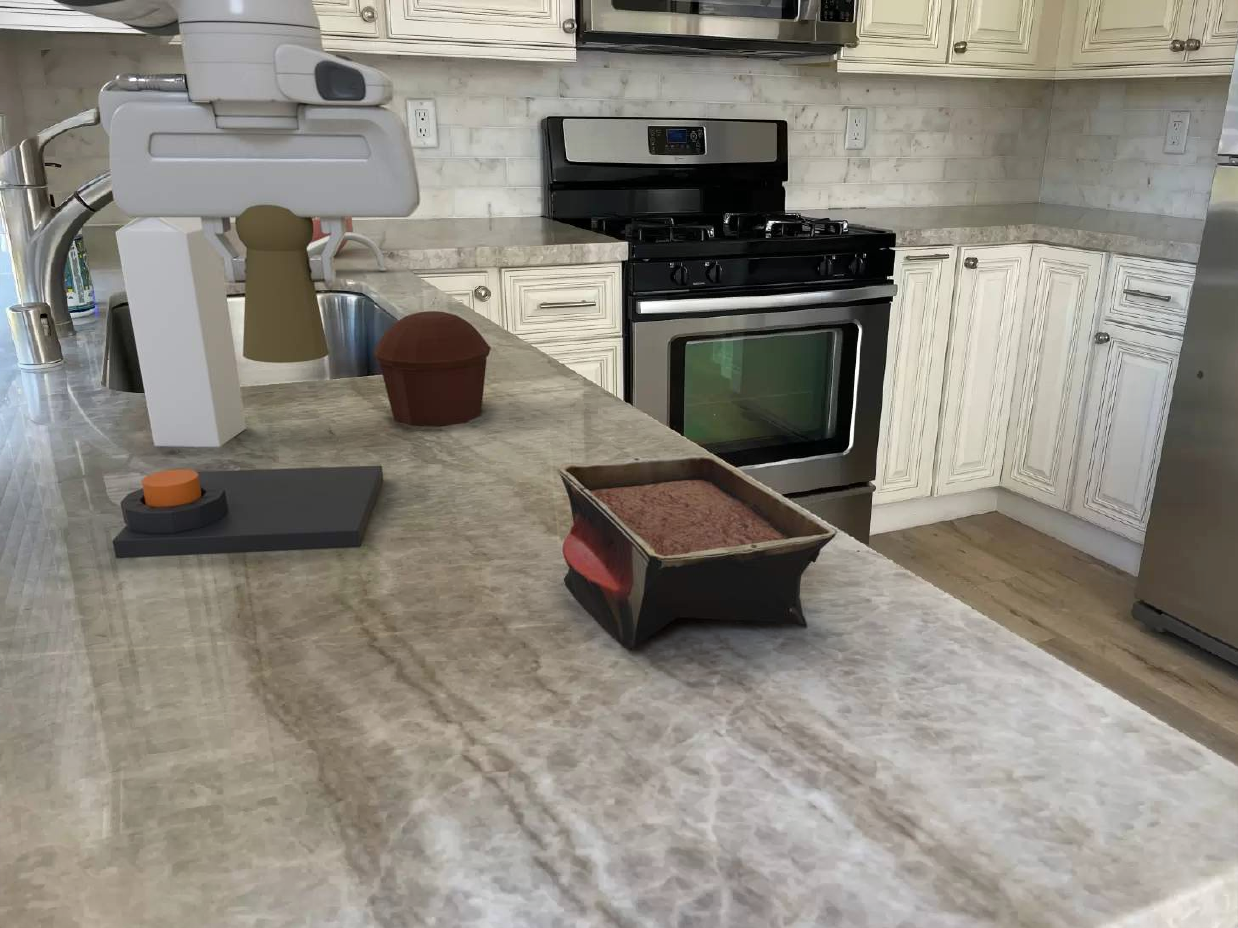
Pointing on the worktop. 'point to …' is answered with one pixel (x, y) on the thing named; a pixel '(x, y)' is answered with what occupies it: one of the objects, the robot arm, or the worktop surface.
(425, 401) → the muffin
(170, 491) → the button
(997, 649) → the worktop surface
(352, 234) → the spoon rest
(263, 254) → the cork
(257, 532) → the scale
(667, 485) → the baking dish
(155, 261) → the milk
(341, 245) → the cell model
